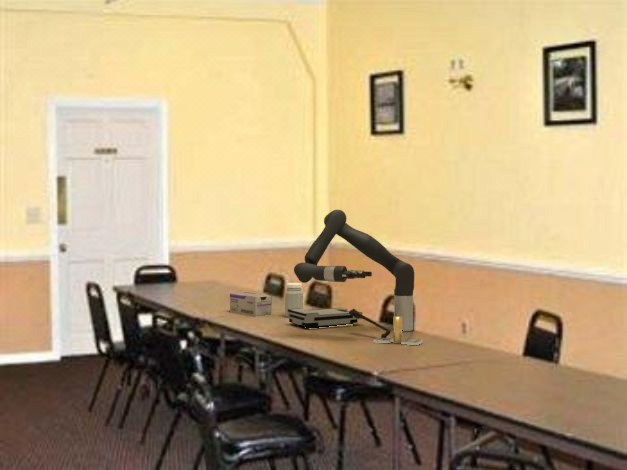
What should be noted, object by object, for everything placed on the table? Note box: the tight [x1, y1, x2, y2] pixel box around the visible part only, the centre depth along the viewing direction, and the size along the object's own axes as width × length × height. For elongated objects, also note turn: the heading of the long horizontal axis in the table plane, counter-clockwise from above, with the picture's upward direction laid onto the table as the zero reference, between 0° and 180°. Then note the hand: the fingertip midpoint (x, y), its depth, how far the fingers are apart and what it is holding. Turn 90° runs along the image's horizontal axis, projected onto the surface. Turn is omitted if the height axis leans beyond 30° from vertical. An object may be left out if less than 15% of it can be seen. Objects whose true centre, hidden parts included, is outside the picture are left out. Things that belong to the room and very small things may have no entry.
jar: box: [284, 282, 304, 318], centre depth 524 cm, size 10×10×18 cm
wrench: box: [348, 308, 391, 338], centre depth 456 cm, size 5×5×30 cm
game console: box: [287, 307, 364, 329], centre depth 494 cm, size 21×32×8 cm, turn 118°
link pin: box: [392, 315, 403, 344], centre depth 438 cm, size 4×4×12 cm
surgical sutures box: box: [229, 291, 273, 318], centre depth 538 cm, size 25×11×11 cm, turn 38°
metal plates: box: [373, 336, 424, 346], centre depth 438 cm, size 8×20×2 cm, turn 67°
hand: (368, 274), depth 446 cm, fingers open, 8 cm apart
